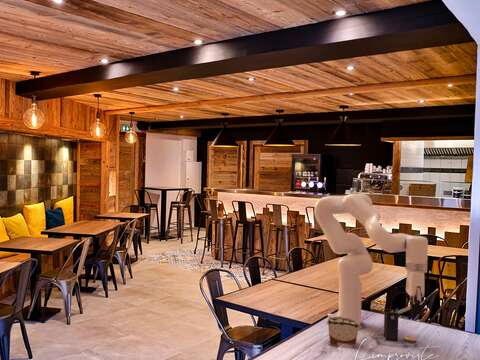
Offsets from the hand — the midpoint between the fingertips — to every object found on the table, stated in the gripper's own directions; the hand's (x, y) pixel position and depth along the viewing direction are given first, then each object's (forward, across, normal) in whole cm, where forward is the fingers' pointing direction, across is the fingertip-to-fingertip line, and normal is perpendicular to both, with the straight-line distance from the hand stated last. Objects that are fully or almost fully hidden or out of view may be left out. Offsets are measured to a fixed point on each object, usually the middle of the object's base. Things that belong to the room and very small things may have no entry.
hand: (415, 312), depth 186 cm
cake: (+13, 0, -2) cm, 13 cm away
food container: (+13, +9, -28) cm, 32 cm away
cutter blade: (+1, 0, -3) cm, 4 cm away
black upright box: (+13, 0, -9) cm, 16 cm away
